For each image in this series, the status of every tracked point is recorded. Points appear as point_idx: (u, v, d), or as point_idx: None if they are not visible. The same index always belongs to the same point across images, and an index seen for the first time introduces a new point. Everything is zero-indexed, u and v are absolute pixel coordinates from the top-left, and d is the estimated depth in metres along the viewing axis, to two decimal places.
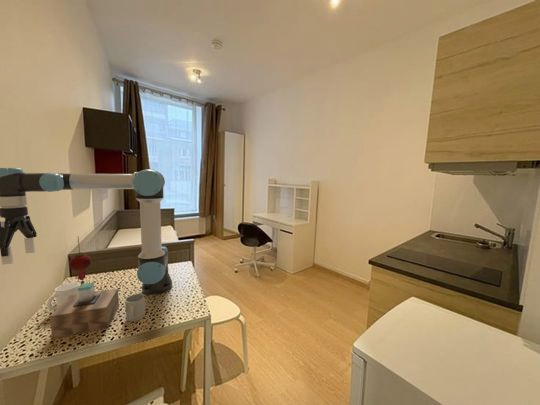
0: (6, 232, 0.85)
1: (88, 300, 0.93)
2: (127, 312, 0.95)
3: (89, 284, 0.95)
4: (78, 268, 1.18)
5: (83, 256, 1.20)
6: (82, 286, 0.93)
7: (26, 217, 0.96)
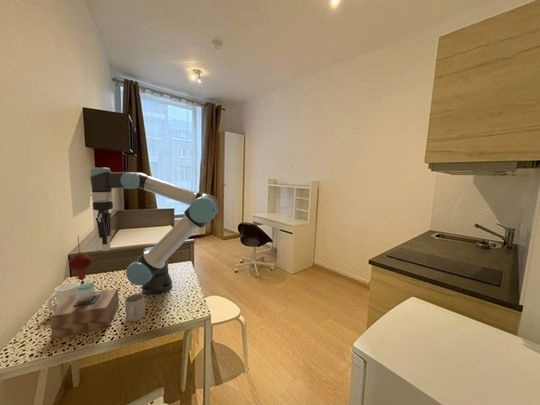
0: (104, 225, 1.02)
1: (88, 300, 0.93)
2: (127, 312, 0.95)
3: (89, 284, 0.95)
4: (78, 268, 1.18)
5: (83, 256, 1.20)
6: (82, 286, 0.93)
7: None
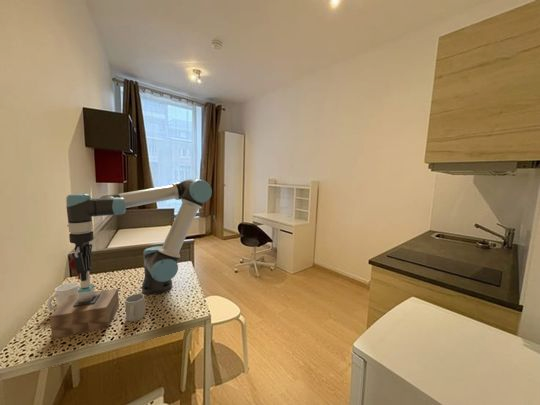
0: (82, 261, 0.89)
1: None
2: (127, 312, 0.95)
3: None
4: None
5: None
6: (82, 288, 0.93)
7: (89, 245, 0.98)
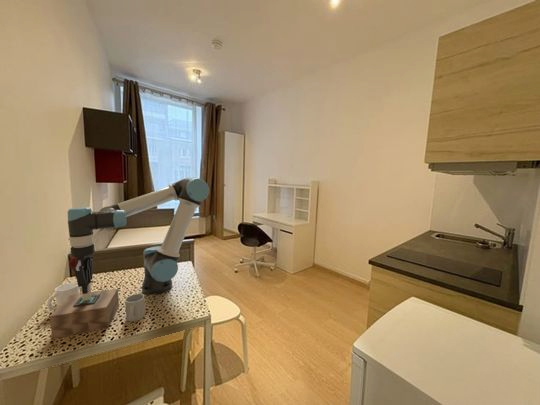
0: (83, 274, 0.90)
1: None
2: (127, 312, 0.95)
3: (90, 299, 0.96)
4: None
5: None
6: (83, 301, 0.94)
7: (90, 257, 0.98)
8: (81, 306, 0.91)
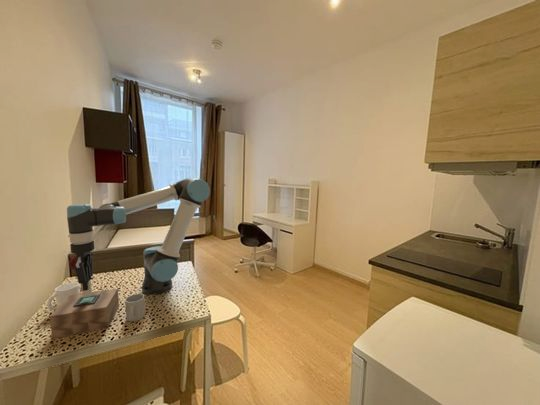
0: (83, 271, 0.90)
1: None
2: (127, 312, 0.95)
3: (90, 299, 0.96)
4: None
5: None
6: (83, 301, 0.94)
7: (90, 254, 0.98)
8: (81, 306, 0.91)
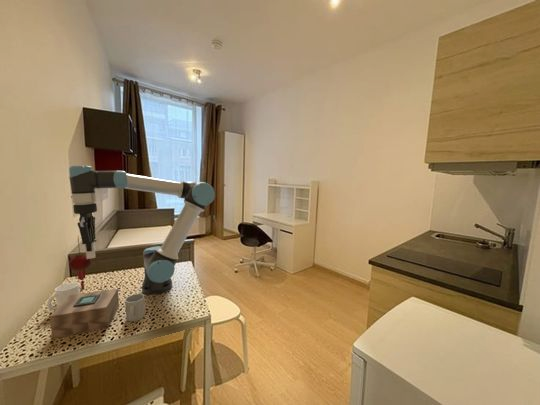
0: (87, 231, 0.91)
1: None
2: (127, 312, 0.95)
3: (90, 299, 0.96)
4: (78, 268, 1.18)
5: (83, 256, 1.20)
6: (83, 301, 0.94)
7: None
8: (81, 306, 0.91)
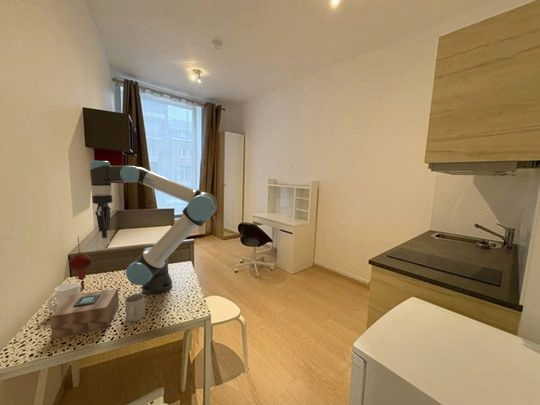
0: (103, 219, 1.02)
1: None
2: (127, 312, 0.95)
3: (90, 299, 0.96)
4: (78, 268, 1.18)
5: (83, 256, 1.20)
6: (83, 301, 0.94)
7: None
8: (81, 306, 0.91)
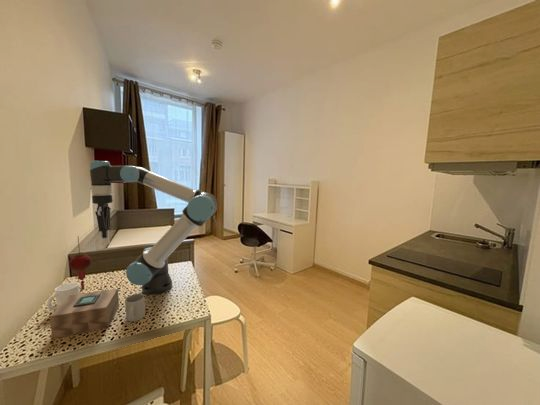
0: (103, 219, 1.02)
1: None
2: (127, 312, 0.95)
3: (90, 299, 0.96)
4: (78, 268, 1.18)
5: (83, 256, 1.20)
6: (83, 301, 0.94)
7: None
8: (81, 306, 0.91)
